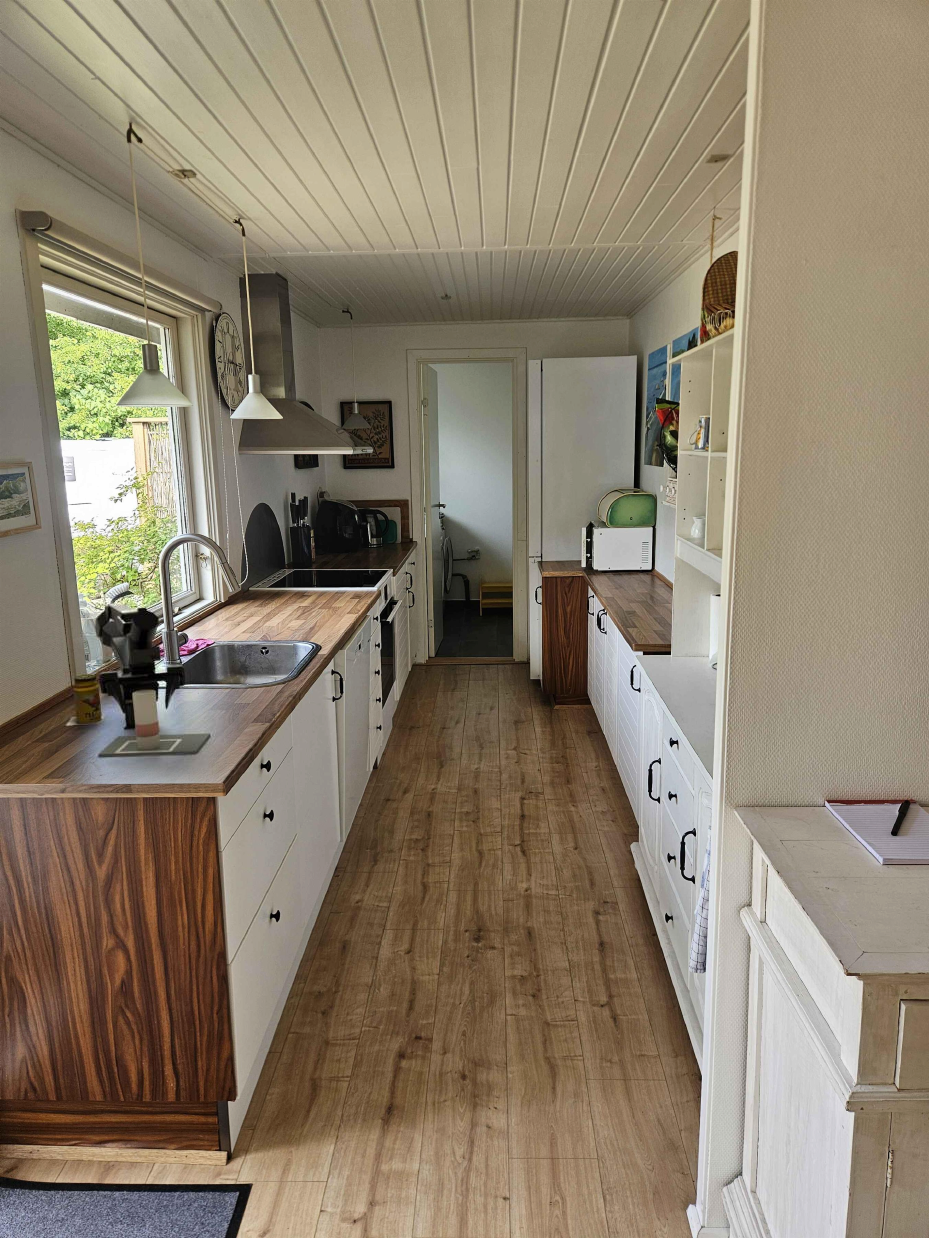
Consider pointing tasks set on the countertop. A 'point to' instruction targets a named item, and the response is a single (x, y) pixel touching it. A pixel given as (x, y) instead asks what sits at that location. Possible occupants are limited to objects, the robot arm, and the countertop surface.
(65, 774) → the countertop surface
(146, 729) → the player figure
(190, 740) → the mat
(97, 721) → the condiment
